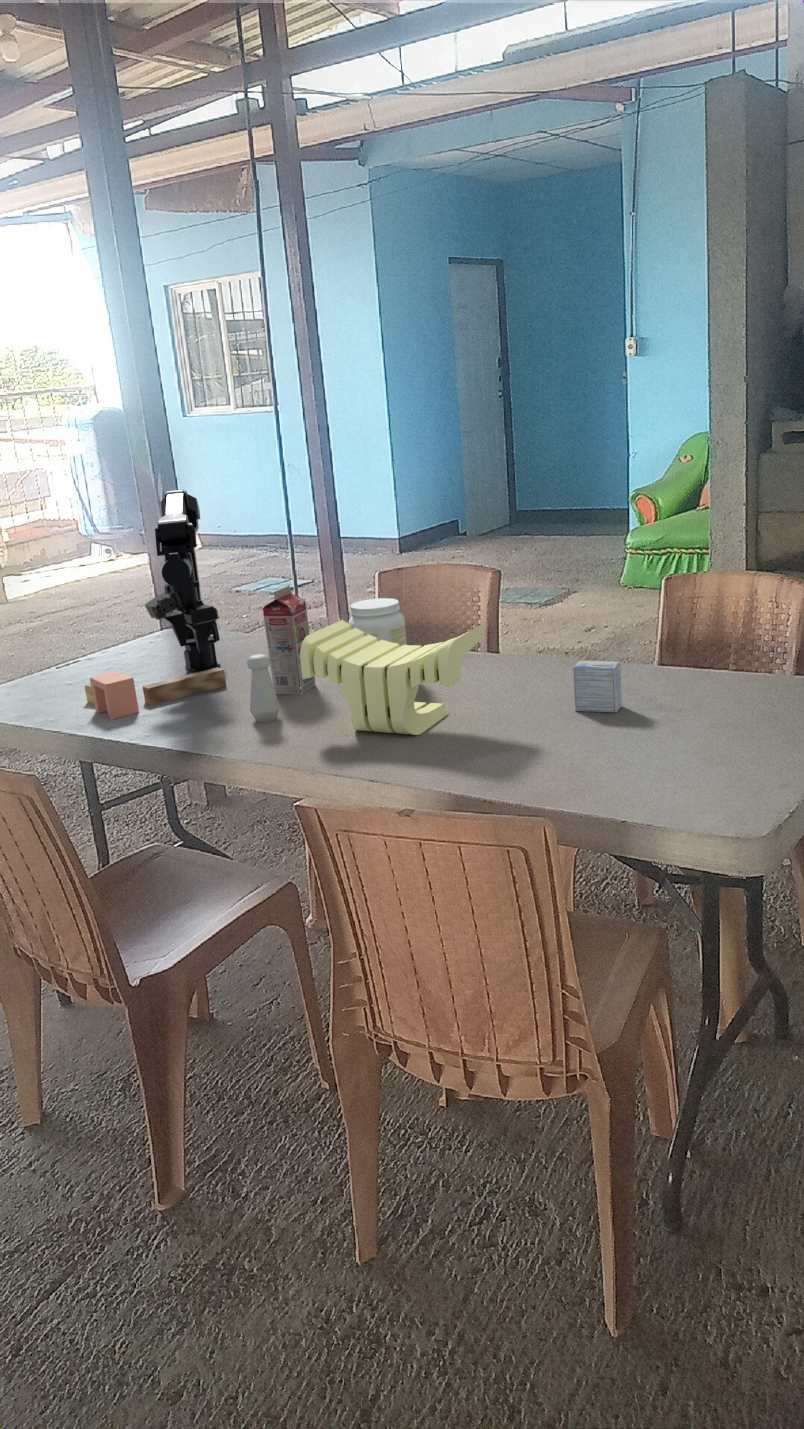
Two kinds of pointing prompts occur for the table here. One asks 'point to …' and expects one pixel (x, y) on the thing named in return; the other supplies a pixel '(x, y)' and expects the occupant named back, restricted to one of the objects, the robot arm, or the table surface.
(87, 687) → the wooden cube
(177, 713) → the table surface
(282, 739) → the table surface
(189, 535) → the robot arm
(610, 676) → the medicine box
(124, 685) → the arch block
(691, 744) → the table surface
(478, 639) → the slatted curved stool
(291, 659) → the juice carton
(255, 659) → the salt shaker
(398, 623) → the supplement tub
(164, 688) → the wooden plank
